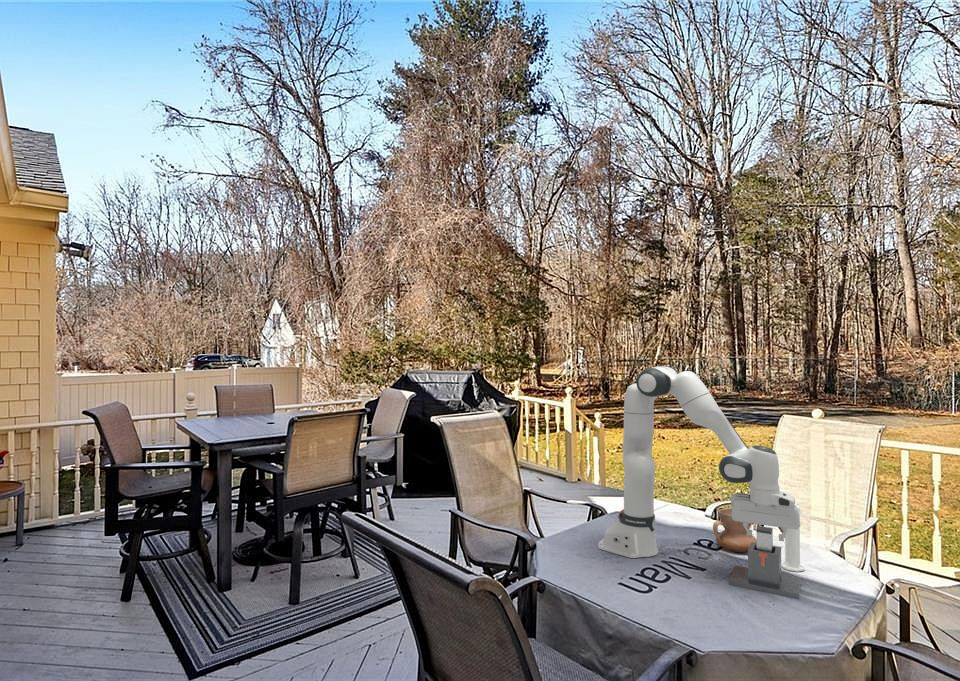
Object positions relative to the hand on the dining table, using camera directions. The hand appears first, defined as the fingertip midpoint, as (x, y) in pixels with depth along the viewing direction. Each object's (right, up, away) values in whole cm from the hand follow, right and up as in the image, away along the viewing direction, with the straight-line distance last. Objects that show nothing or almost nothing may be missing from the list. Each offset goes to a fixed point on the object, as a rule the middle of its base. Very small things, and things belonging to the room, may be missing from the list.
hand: (765, 538), depth 187 cm
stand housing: (0, -15, 0) cm, 15 cm away
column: (0, -13, 0) cm, 13 cm away
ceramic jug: (+4, -15, +32) cm, 35 cm away
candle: (+16, -15, +13) cm, 25 cm away
